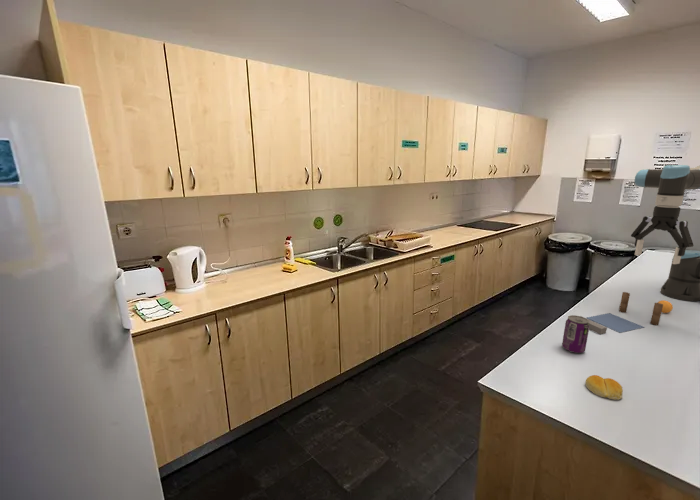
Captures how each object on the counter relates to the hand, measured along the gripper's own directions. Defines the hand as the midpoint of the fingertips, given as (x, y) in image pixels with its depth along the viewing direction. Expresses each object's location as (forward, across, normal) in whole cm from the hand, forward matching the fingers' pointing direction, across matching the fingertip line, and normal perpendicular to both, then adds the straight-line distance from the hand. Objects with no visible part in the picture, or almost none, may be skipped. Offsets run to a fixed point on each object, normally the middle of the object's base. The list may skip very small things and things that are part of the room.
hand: (655, 259), depth 135 cm
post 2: (+28, +3, +3) cm, 28 cm away
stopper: (+28, -2, -26) cm, 38 cm away
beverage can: (+28, +8, -46) cm, 55 cm away
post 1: (+28, -10, +2) cm, 29 cm away
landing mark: (+28, -3, -12) cm, 30 cm away
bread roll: (+28, +29, -58) cm, 70 cm away
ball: (+25, -4, +18) cm, 31 cm away
